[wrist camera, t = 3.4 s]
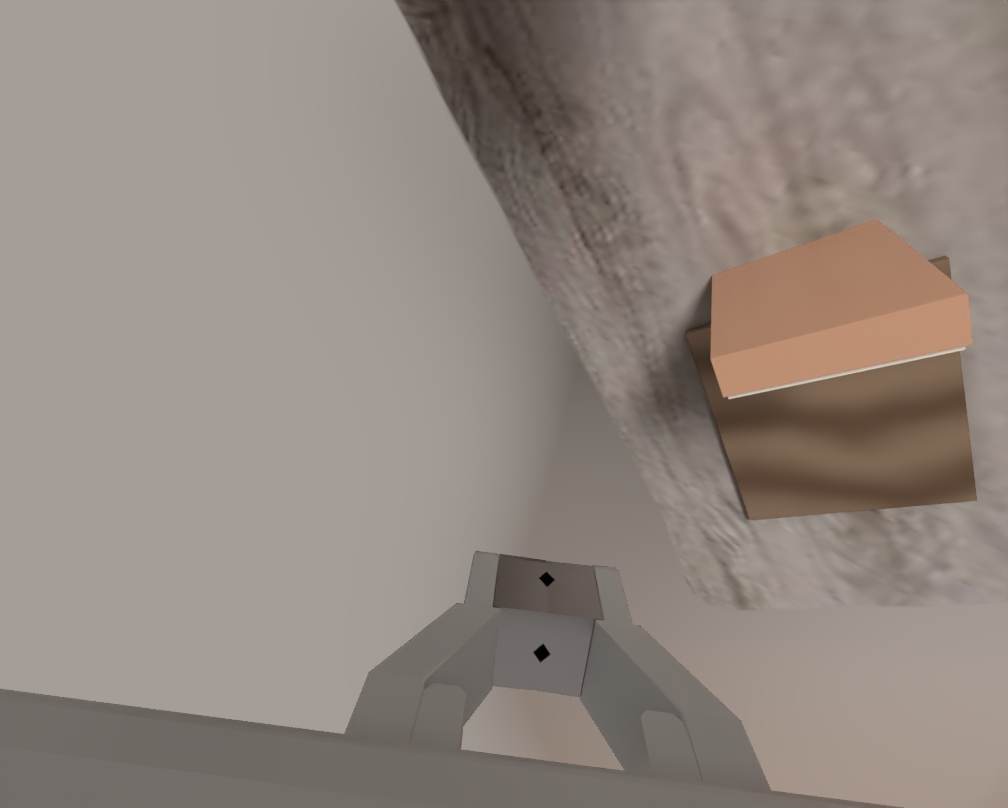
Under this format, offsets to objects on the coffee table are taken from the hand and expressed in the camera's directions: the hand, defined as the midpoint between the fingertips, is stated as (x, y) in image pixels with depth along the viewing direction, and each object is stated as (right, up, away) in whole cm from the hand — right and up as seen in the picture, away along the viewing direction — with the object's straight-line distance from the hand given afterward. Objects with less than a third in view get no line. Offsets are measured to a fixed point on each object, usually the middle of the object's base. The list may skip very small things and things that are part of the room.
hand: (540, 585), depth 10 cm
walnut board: (+25, +3, +28) cm, 37 cm away
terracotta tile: (+19, +14, +23) cm, 33 cm away
